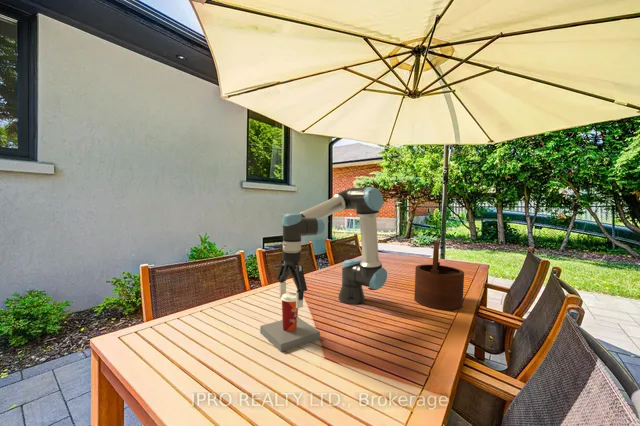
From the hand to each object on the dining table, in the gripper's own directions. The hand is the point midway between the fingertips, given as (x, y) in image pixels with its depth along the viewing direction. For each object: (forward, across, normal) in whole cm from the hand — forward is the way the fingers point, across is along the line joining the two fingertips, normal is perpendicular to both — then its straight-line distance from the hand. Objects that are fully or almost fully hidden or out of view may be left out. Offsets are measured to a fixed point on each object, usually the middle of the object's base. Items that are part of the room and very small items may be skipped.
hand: (290, 302), depth 114 cm
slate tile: (+14, 0, 0) cm, 14 cm away
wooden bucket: (+15, +12, +92) cm, 94 cm away
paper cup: (+11, 0, 0) cm, 11 cm away
